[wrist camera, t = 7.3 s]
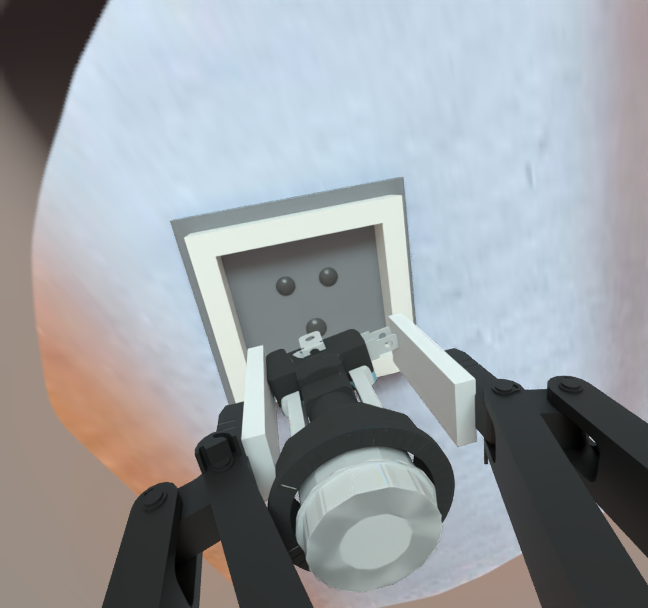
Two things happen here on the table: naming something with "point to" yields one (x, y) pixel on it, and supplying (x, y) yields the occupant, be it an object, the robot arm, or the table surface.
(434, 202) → the table surface
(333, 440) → the push button
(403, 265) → the socket plate
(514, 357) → the table surface
